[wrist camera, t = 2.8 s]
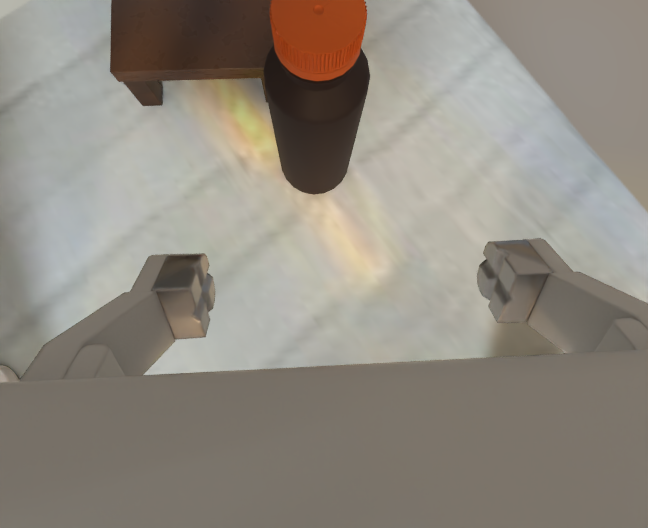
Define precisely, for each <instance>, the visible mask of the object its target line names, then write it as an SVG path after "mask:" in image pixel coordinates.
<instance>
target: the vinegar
mask: <svg viewBox="0 0 648 528" xmlns="http://www.w3.org/2000/svg"><path fill="white" fill-rule="evenodd" d="M365 3H366V2H364V0H272V1H271V4H270V8H269V9H270V12H269V13H270V21H271V28H272V35H273V40H274V45H273V46H272V48H271V49H270V51H269V53H268V54H267V57H266V62H265V66H264V71H263V73H264V81H265V89H266V94H267V99H268V104H269V109H270V114H271V118H272V123H273V128H274V133H275V138H276V143H277V147H278V152H279V157H280V162H281V167H282V171H283V173H284V175H285V177H286V179H287V180H288V181H289V182H290V183H291V185H292V186H293V187H295V188H297V189H298V190H300V191H302V192H305V193H310V194H319V193H325V192H327V191H329V190H332V189H334V188H335V187H336V186H337V185H338V184H339V183H340V182H341V181H342V180H343V178H344V176H345V174H346V172H347V168H348V165H349V161H350V157H351V153H352V149H353V145H354V141H355V138H356V134H357V130H358V126H359V122H360V118H361V114H362V111H363V107H364V103H365V99H366V95H367V90H368V85H369V80H370V73H369V67H368V60H367V58H366V56H365V54H364V52H363V50H362V49H361V44H362V40H363V36H364V31H365V26H366V20H367V9H366V6H365Z"/></svg>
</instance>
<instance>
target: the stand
mask: <svg viewBox="0 0 648 528" xmlns="http://www.w3.org/2000/svg"><path fill="white" fill-rule="evenodd" d="M271 1H272V0H112V4H111V61H110V72H111V73H112V74H113V75H114V77H115V78H116V79H117V80H118V81H119V82H124V84H125V85H126V86H127V87H128V88H129V90H130V91H131V92H132V93H133V94H134V96H135V97H136V98H137V99H138V100H139V102H140V103H141V104H142V105H143V106H154V105H162V86H161V85H160V83H159V82H158V81H164V80H202V79H241V78H261V80H262V84H263V89H264V94H265V98H266V102H268V99H267V94H266V89H265V81H264V73H263V71H264V66H265V62H266V57H267V54H268V53H269V51H270V49H271V48H272V46H273V45H274V40H273V35H272V28H271V21H270V13H269V12H270V9H269V8H270V4H271Z"/></svg>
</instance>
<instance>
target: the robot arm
mask: <svg viewBox="0 0 648 528" xmlns="http://www.w3.org/2000/svg"><path fill="white" fill-rule="evenodd" d="M483 254H484V256H485V257H486V260H485V261H484V262H482V263H481V264H480V265H479V269H478V273H477V284H478V287H479V290H480V292H481V294H482V296H484V297H485V298H487V299H488V300H490V303H489V306H488V307H489V309H490V310H491V312H492V314H493V316H494V318H495V319H496V321H497V323H518V322H527V324H528V325H529V326H531V327H532V328H533V329H534V330H536V331H537V332H538V333H540V334H541V335H542V336H544V337H545V338H546V339H548V340H549V341H550V342H552V343H553V344H554V345H555V346H557V347H558V348H559V349H561V350H562V351H563V352H565V353H566V354H548V355H530V356H510V357H490V358H470V359H450V360H430V361H410V362H391V363H372V364H353V365H334V366H315V367H296V368H277V369H257V370H238V371H219V372H199V373H180V374H160V375H143V374H144V373H145V372H146V371H147V370H148V369H149V368H150V367H151V366H152V365H153V364H154V363H155V362H156V361H157V360H158V359H159V358H160V357H161V355H162V354H163V353H164V352H165V351H166V350H167V349H168V348H169V347H170V346H171V345H172V344H173V343H174V342H175V339H189V338H202V337H206V334H207V330H208V326H209V322H210V317H209V314H208V312H209V311H210V310H212V309H213V306H214V302H215V286H214V281H213V277H212V276H211V275H209V274H208V273H207V272H208V269H209V262H208V258H207V256H206V255H205V254H204V253H202V254H170V255H168V254H163V255H151V256H149V257H148V259H147V260H146V262H145V264H144V266H143V268H142V270H141V272H140V274H139V276H138V278H137V279H136V281H135V283H134V285H133V287H132V289H131V291H130V292H126V293H123V294H121V295H120V296H118V297H117V298H115V299H114V300H112V301H111V302H109V303H108V304H106V305H104V306H103V307H101V308H100V309H98V310H97V311H95V312H94V313H92V314H91V315H89V316H88V317H86V318H85V319H83V320H81V321H80V322H78V323H77V324H75V325H74V326H72V327H71V328H69V329H68V330H66V331H65V332H63V333H62V334H60V335H58V336H57V337H55V338H54V339H52V340H51V341H49V342H48V343H46V344H45V345H43V347H42V348H41V350H40V351H39V353H38V354H37V356H36V357H35V358H34V360H33V361H32V363H31V364H30V366H29V367H28V369H27V370H26V372H25V373H24V375H23V376H22V378H21V379H20V380H19V378H18V377H17V376H16V374H15V373H14V372H13V371H12V370H11V369H10V368H9V367H7V366H0V528H648V303H645V302H643V301H641V300H639V299H637V298H635V297H632V296H630V295H628V294H626V293H624V292H622V291H619V290H617V289H615V288H613V287H611V286H609V285H606V284H604V283H602V282H600V281H598V280H596V279H593V278H591V277H589V276H587V275H585V274H583V273H580V272H573V271H572V270H571V269H570V267H569V266H568V265H567V264H566V263H565V262H564V261H563V260H562V259H561V257H560V256H559V255H558V254H557V253H556V252H555V251H554V250H553V249H552V247H551V246H550V245H549V244H548V243H547V242H546V241H545V240H543V239H541V238H535V239H523V240H511V241H492V242H488V243H487V244H486V246H485V249H484V252H483Z"/></svg>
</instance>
